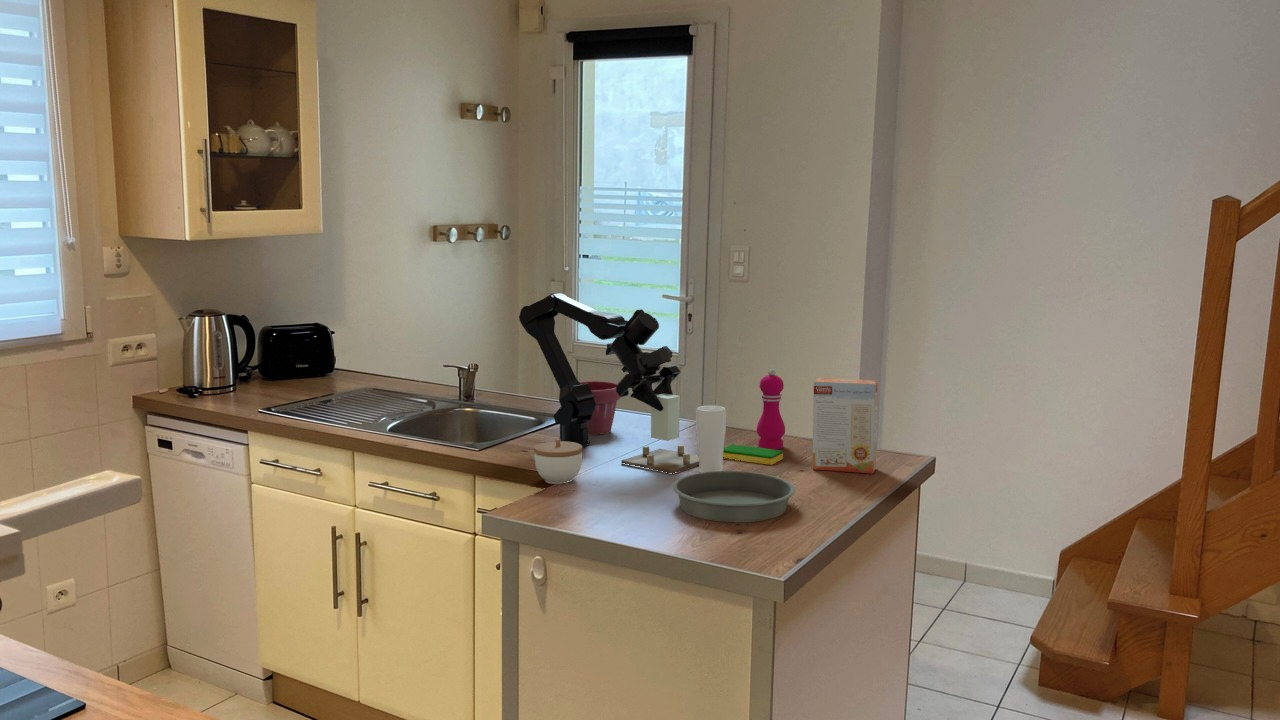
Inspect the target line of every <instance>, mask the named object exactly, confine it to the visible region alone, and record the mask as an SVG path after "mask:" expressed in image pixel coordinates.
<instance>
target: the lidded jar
mask: <svg viewBox="0 0 1280 720" xmlns="http://www.w3.org/2000/svg"><path fill="white" fill-rule="evenodd" d="M583 448H584V447H582V445H580V444H578V443H574V442H567V441H560V438H556V439H555V441H547V442H542V443H541V442H540V443H538V444H536V445H534V447H533V453H534V463H535V468H536V470H537V473H538V475H539V476H540V477H541V478H542V479H543V480H544V482H545V483H547V484H550V485H562V484H561V483H564V482H567V481H570V480H572V479H574V478H576V477H577V475H578V474H579V472H580V470H581V468H582V463H583ZM572 481H573V480H572Z"/></svg>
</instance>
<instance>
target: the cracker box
mask: <svg viewBox="0 0 1280 720" xmlns="http://www.w3.org/2000/svg"><path fill="white" fill-rule="evenodd" d="M878 383H879V382H878V380H877V379H876V380H874V379H873V380H872V379H856V378H855V379H853V378H834V377H833V378H830V377H829V378H827V377H817V378H816V379H815V381H813V404H812V405H813V406H812V408H813V409H812V457H811V458H812V464H811V466H812V467H811V468H812V470H817V471H831V472H834V471H835V472H845V473H846V472H849V473H860V474H874V472H875V470H876V468H877V436H878V435H877V433H878V432H877V431H878V430H877V429H878V427H877V426H878V387H879V386H878Z"/></svg>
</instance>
